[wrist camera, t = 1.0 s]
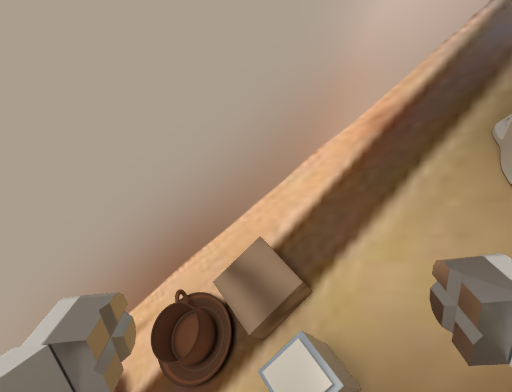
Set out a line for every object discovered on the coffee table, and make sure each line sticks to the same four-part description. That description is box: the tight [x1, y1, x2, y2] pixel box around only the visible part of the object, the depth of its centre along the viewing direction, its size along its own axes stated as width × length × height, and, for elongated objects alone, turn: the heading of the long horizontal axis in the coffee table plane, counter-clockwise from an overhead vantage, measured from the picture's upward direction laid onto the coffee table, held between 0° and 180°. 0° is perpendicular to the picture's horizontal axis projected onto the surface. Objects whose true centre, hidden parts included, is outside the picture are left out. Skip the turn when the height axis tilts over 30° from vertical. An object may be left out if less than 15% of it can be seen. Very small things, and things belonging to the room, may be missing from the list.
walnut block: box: [213, 237, 312, 340], centre depth 42 cm, size 9×9×5 cm
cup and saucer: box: [151, 290, 232, 387], centre depth 42 cm, size 12×12×6 cm
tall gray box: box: [258, 330, 361, 392], centre depth 31 cm, size 6×6×12 cm
